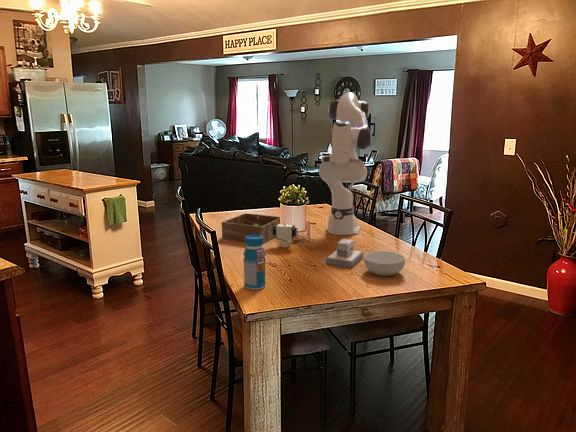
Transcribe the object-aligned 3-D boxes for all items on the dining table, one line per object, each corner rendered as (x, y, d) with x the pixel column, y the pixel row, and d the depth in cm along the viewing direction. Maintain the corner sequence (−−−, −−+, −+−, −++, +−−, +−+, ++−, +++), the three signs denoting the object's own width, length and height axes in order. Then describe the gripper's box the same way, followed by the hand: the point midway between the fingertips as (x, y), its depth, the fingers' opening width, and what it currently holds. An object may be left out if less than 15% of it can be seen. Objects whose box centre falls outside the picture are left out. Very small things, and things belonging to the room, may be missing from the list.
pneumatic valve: (295, 248, 232) (295, 225, 229) (272, 247, 234) (272, 223, 231) (297, 245, 237) (297, 222, 234) (275, 244, 239) (274, 221, 237)
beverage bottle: (243, 290, 179) (242, 239, 175) (244, 282, 188) (243, 233, 183) (265, 290, 180) (265, 239, 175) (265, 282, 188) (265, 233, 183)
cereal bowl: (372, 263, 210) (373, 248, 208) (409, 270, 202) (410, 254, 200) (357, 275, 196) (358, 259, 194) (396, 283, 187) (397, 266, 186)
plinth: (338, 253, 224) (338, 247, 223) (362, 257, 219) (363, 251, 218) (325, 263, 210) (326, 257, 209) (351, 267, 205) (352, 261, 204)
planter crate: (245, 228, 270) (245, 213, 268) (283, 233, 260) (283, 217, 258) (222, 238, 249) (221, 222, 247) (262, 244, 239) (261, 227, 237)
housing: (342, 251, 218) (343, 238, 217) (353, 252, 216) (353, 239, 215) (336, 255, 211) (337, 243, 210) (347, 257, 209) (347, 244, 208)
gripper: (365, 158, 211) (364, 188, 215) (323, 155, 220) (322, 185, 223) (361, 160, 206) (360, 191, 209) (317, 157, 214) (317, 187, 218)
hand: (340, 188), depth 216 cm, fingers open, 8 cm apart
